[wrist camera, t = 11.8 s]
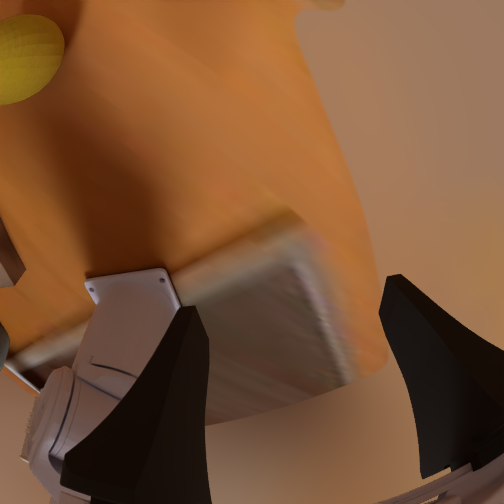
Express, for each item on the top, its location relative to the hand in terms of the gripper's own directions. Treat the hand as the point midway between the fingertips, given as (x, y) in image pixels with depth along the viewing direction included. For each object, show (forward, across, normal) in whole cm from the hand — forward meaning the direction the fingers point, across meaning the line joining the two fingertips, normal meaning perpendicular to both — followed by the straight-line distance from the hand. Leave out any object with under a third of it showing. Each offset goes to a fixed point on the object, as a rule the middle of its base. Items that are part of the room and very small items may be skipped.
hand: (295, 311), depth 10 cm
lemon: (+11, +12, -14) cm, 21 cm away
